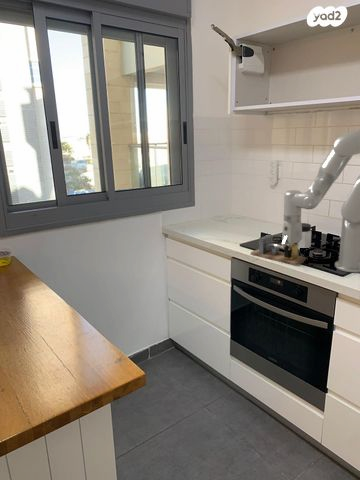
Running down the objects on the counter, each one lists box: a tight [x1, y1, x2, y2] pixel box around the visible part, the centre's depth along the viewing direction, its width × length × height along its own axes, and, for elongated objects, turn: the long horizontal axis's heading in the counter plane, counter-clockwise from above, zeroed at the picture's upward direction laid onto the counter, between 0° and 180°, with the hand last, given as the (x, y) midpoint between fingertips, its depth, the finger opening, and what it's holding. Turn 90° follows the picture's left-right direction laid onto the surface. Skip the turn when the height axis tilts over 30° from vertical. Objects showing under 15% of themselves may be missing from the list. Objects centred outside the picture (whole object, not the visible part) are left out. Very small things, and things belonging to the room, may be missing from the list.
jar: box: [298, 222, 312, 250], centre depth 182 cm, size 9×8×12 cm
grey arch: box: [258, 234, 274, 254], centre depth 175 cm, size 2×8×9 cm, turn 133°
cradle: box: [272, 247, 280, 256], centre depth 172 cm, size 2×3×4 cm, turn 132°
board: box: [250, 248, 308, 267], centre depth 171 cm, size 25×10×1 cm, turn 43°
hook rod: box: [266, 242, 299, 260], centre depth 170 cm, size 16×5×6 cm, turn 43°
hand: (290, 255), depth 166 cm, fingers closed on hook rod, 5 cm apart
